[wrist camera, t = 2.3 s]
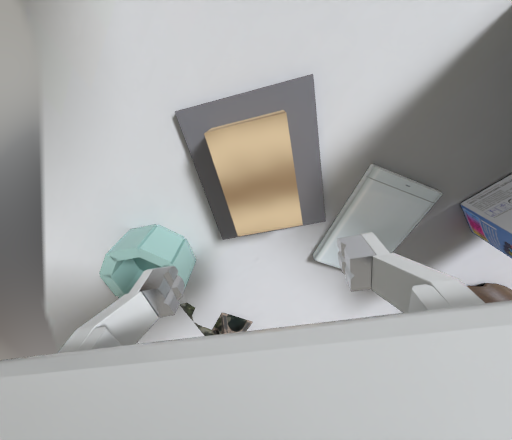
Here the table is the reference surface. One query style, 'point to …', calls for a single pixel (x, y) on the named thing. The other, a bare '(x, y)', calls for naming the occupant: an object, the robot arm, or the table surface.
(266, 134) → the lid
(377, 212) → the hard drive
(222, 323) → the eiffel tower figurine
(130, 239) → the bowl
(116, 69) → the table surface
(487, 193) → the ink cartridge box
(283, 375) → the robot arm
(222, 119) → the mat
